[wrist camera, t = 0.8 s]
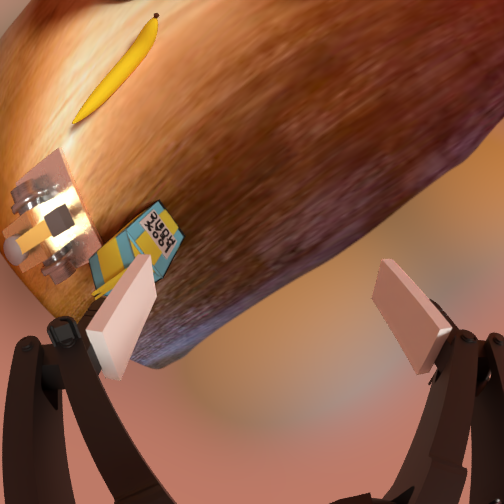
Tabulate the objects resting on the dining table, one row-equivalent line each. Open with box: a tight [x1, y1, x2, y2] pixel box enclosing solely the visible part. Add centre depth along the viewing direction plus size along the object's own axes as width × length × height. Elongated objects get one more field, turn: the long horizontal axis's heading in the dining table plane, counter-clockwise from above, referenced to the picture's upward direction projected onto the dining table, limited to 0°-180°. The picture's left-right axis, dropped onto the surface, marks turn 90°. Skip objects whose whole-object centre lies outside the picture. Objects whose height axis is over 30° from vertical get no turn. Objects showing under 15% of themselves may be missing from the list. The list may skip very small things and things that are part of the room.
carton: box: [88, 200, 185, 300], centre depth 35 cm, size 7×8×18 cm
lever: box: [3, 203, 75, 266], centre depth 31 cm, size 15×4×2 cm, turn 110°
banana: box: [72, 13, 159, 124], centre depth 30 cm, size 3×19×6 cm, turn 136°
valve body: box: [2, 147, 104, 285], centre depth 37 cm, size 20×13×10 cm, turn 20°
